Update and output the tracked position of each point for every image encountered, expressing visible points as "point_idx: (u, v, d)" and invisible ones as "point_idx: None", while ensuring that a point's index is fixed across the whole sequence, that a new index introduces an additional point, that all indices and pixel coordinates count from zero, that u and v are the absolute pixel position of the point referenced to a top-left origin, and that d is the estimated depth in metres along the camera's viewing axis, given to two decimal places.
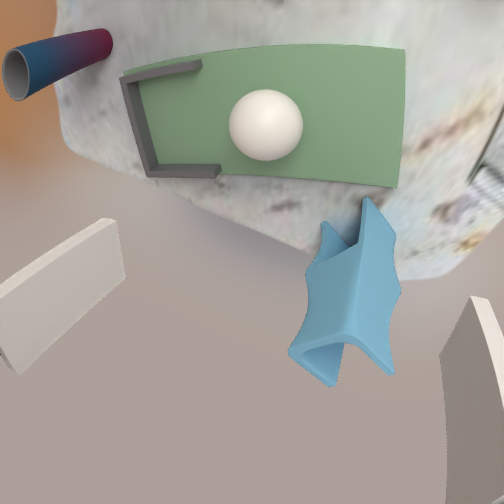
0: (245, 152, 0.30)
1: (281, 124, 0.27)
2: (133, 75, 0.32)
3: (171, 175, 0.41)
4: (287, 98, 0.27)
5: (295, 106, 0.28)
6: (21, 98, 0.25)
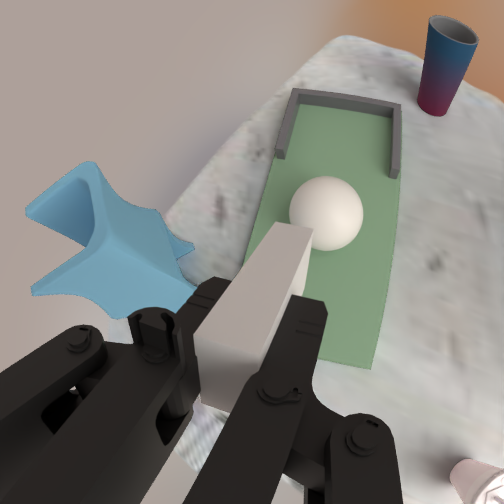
0: (309, 183, 0.29)
1: (332, 227, 0.27)
2: (399, 116, 0.34)
3: (287, 110, 0.38)
4: (349, 241, 0.30)
5: (339, 247, 0.30)
6: (431, 22, 0.25)
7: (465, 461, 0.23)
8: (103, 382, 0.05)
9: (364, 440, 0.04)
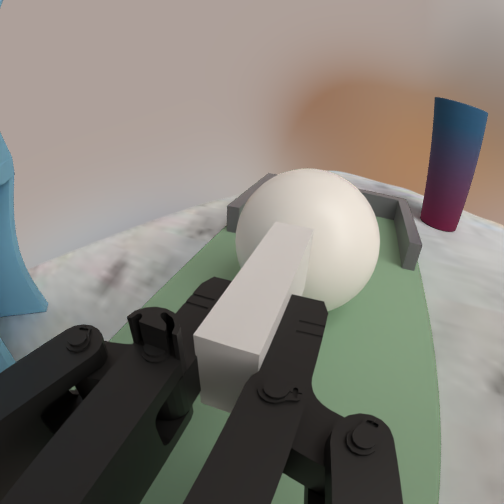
0: None
1: (330, 184, 0.13)
2: (407, 206, 0.27)
3: (257, 184, 0.30)
4: (363, 253, 0.13)
5: (344, 251, 0.13)
6: None
7: None
8: (103, 382, 0.05)
9: (364, 440, 0.04)
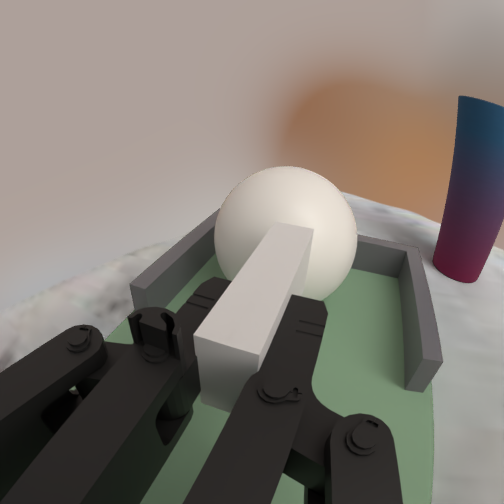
0: None
1: None
2: (420, 264, 0.18)
3: (194, 232, 0.20)
4: None
5: None
6: None
7: None
8: (103, 382, 0.05)
9: (364, 440, 0.04)
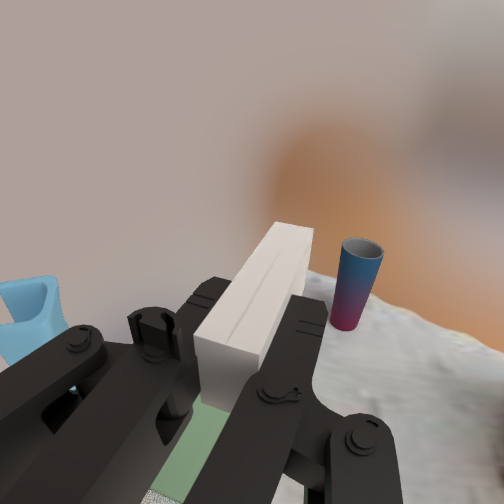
0: None
1: None
2: None
3: None
4: None
5: None
6: (343, 243, 0.47)
7: None
8: (103, 382, 0.05)
9: (364, 440, 0.04)
